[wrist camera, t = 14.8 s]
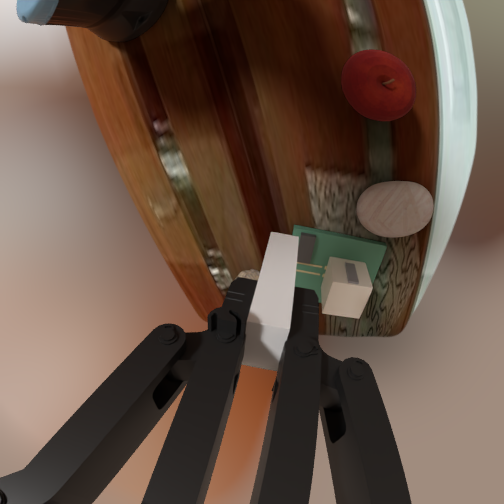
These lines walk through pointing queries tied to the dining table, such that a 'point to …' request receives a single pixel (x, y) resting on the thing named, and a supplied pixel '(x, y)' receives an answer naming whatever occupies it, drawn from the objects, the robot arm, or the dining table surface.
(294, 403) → the robot arm
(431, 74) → the dining table surface
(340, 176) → the dining table surface
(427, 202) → the decorative stone
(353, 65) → the apple
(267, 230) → the dining table surface
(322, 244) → the board
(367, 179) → the dining table surface
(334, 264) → the plug
